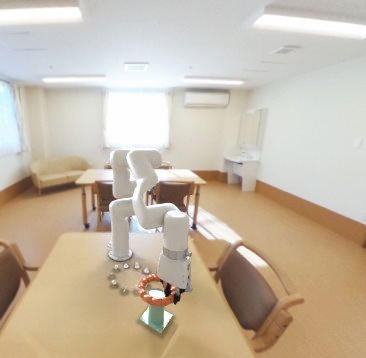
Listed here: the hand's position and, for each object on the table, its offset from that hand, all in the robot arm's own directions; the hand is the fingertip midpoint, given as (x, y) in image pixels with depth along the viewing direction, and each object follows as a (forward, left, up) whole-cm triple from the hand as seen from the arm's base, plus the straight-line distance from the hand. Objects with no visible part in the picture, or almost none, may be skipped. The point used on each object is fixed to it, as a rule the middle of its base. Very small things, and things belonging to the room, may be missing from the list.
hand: (172, 299), depth 70 cm
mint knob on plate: (-6, 0, -12) cm, 13 cm away
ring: (-6, 0, +1) cm, 6 cm away
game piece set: (-26, +12, -12) cm, 31 cm away
